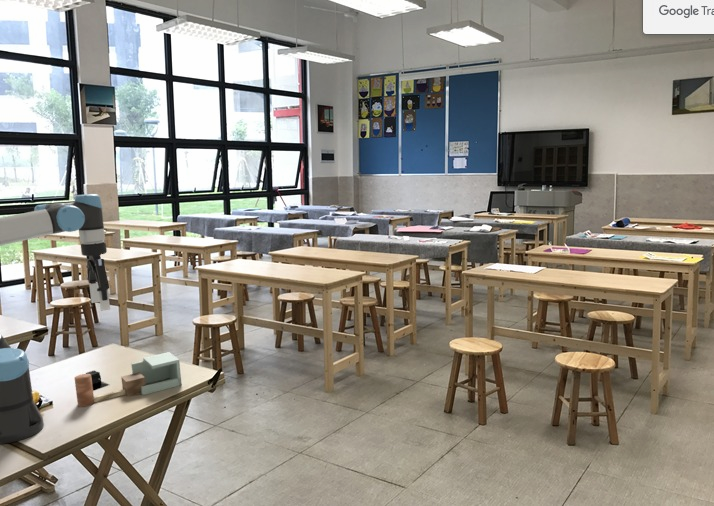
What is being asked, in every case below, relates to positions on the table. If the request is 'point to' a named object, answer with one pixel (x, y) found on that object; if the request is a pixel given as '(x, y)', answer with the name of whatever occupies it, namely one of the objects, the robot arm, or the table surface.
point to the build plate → (96, 380)
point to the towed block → (87, 398)
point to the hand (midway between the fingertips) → (100, 306)
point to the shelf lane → (158, 372)
